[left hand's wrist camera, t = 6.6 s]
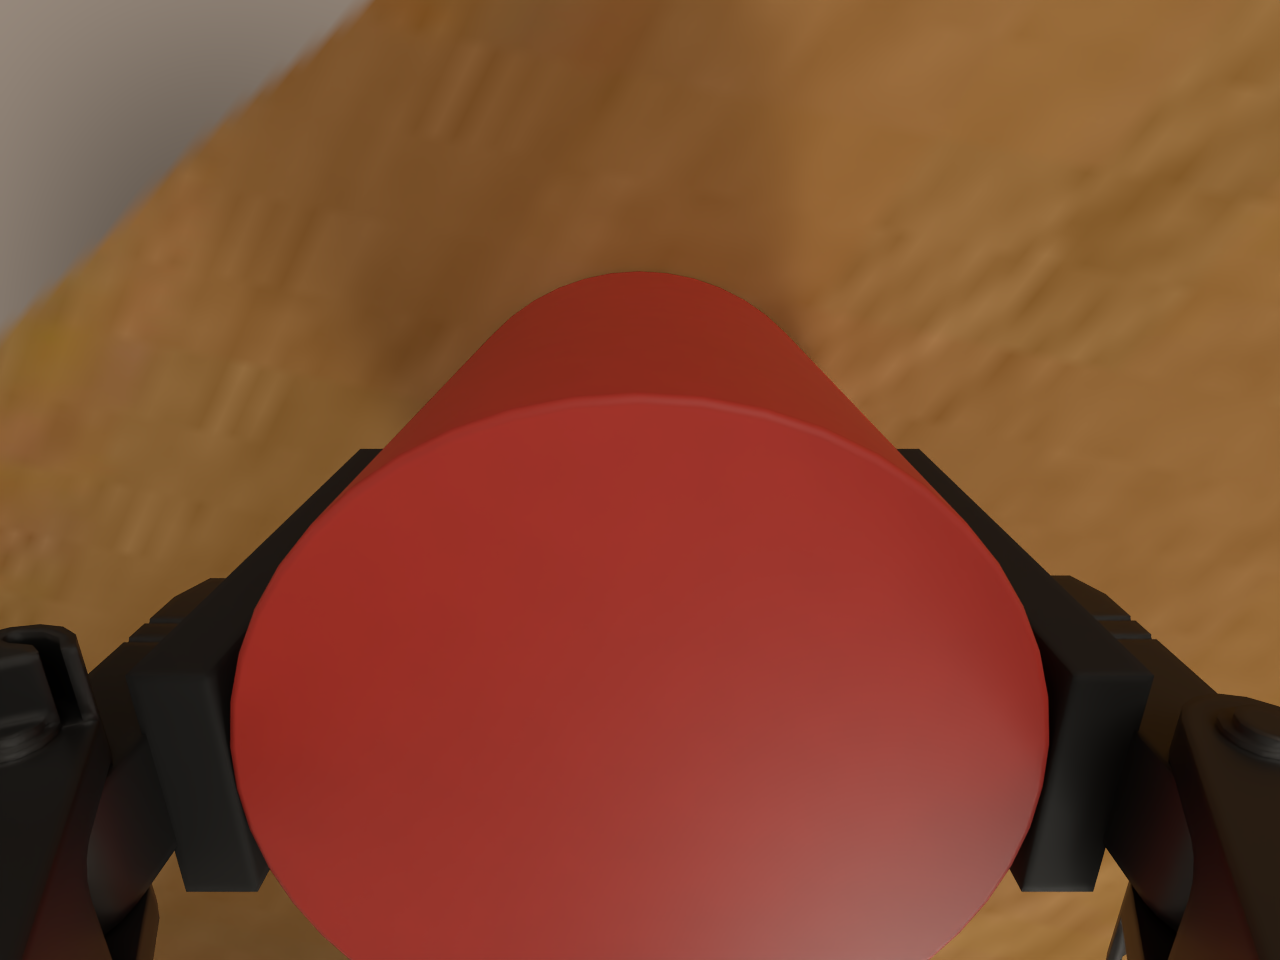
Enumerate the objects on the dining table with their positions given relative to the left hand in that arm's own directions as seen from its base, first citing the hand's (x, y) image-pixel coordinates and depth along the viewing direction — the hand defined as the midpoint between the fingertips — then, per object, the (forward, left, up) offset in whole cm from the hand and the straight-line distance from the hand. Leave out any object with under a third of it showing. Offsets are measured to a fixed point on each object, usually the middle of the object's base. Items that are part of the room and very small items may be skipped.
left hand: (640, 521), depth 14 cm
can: (0, 0, -3) cm, 3 cm away
